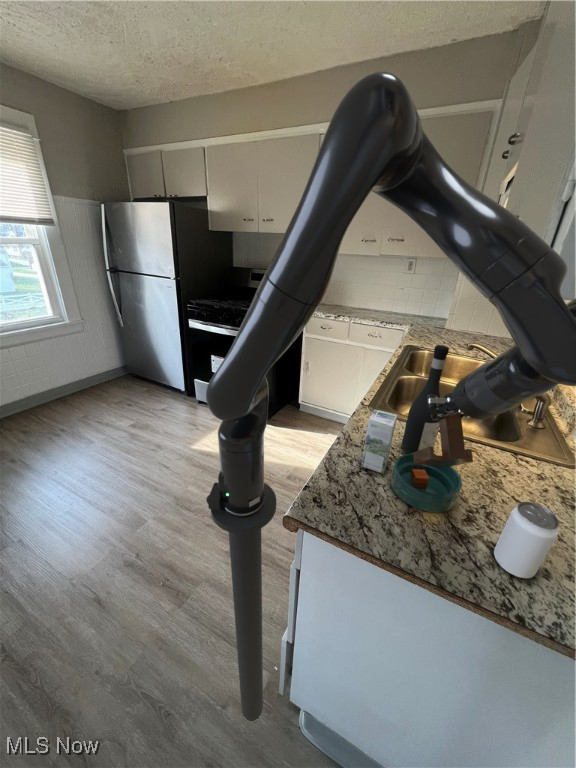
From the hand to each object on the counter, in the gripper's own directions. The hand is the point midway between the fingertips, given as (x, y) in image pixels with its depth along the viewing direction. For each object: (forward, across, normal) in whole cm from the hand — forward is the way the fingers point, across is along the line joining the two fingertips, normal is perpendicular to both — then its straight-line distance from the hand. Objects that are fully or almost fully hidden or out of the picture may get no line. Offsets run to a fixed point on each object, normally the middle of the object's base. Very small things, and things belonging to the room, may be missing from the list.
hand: (442, 416), depth 64 cm
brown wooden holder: (+1, 0, +9) cm, 9 cm away
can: (+2, -11, +26) cm, 29 cm away
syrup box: (+20, +10, +9) cm, 24 cm away
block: (+15, +1, +13) cm, 19 cm away
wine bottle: (+25, -3, +4) cm, 25 cm away
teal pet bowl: (+14, 0, +14) cm, 20 cm away
